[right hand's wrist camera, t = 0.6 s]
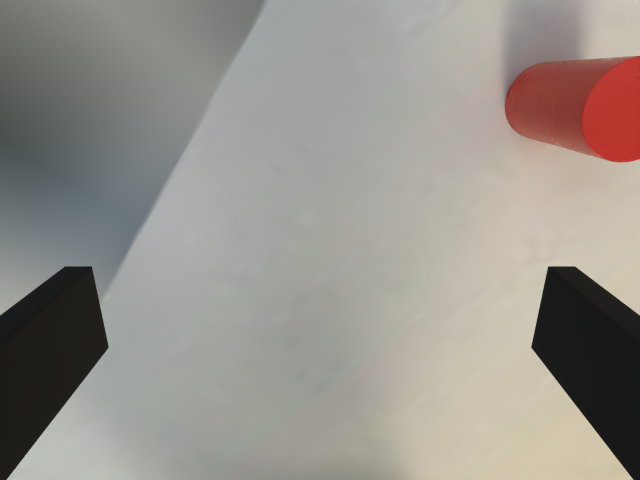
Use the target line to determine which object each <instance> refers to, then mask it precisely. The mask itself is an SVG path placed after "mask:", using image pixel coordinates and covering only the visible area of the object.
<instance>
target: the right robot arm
mask: <svg viewBox="0 0 640 480" xmlns="http://www.w3.org/2000/svg"><path fill="white" fill-rule="evenodd" d="M108 348H109V347H108V342H107V337H106V332H105V328H104V323H103V318H102V313H101V308H100V304H99V299H98V294H97V289H96V285H95V280H94V275H93V270H92V267H64V268H63V269H61V270H60V271H59V272H57V273H56V274H55V275H53V276H52V277H51V278H49V279H48V280H47V281H45V282H44V283H43V284H41V285H40V286H39V287H37V288H36V289H35V290H33V291H32V292H31V293H29V294H28V295H27V296H26V297H24V298H23V299H22V300H20V301H19V302H18V303H16V304H15V305H14V306H12V307H11V308H10V309H8V310H7V311H6V312H4V313H3V314H2V315H0V480H7V478H8V477H9V476H10V474H11V473H12V472H13V471H14V469H15V468H16V467H17V465H18V464H19V463H20V461H21V460H22V459H23V458H24V456H25V455H26V454H27V452H28V451H29V450H30V449H31V447H32V446H33V445H34V443H35V442H36V441H37V439H38V438H39V437H40V436H41V434H42V433H43V432H44V430H45V429H46V428H47V427H48V425H49V424H50V423H51V421H52V420H53V419H54V418H55V416H56V415H57V414H58V412H59V411H60V410H61V408H62V407H63V406H64V405H65V403H66V402H67V401H68V399H69V398H70V397H71V396H72V394H73V393H74V392H75V390H76V389H77V388H78V386H79V385H80V384H81V383H82V381H83V380H84V379H85V377H86V376H87V375H88V374H89V372H90V371H91V370H92V368H93V367H94V366H95V364H96V363H97V362H98V361H99V359H100V358H101V357H102V355H103V354H104V353H105V352H106V350H107V349H108ZM531 348H532V349H533V350H534V352H535V353H536V354H537V355H538V357H539V358H540V359H541V361H542V362H543V363H544V364H545V366H546V367H547V368H548V370H549V371H550V372H551V374H552V375H553V376H554V377H555V379H556V380H557V381H558V383H559V384H560V385H561V386H562V388H563V389H564V390H565V392H566V393H567V394H568V396H569V397H570V398H571V399H572V401H573V402H574V403H575V405H576V406H577V407H578V408H579V410H580V411H581V412H582V414H583V415H584V416H585V418H586V419H587V420H588V421H589V423H590V424H591V425H592V427H593V428H594V429H595V430H596V432H597V433H598V434H599V436H600V437H601V438H602V439H603V441H604V442H605V443H606V445H607V446H608V447H609V449H610V450H611V451H612V452H613V454H614V455H615V456H616V458H617V459H618V460H619V461H620V463H621V464H622V465H623V467H624V468H625V469H626V471H627V472H628V473H629V474H630V476H631V477H632V478H633V480H640V315H638V314H637V313H636V312H634V311H633V310H632V309H630V308H629V307H628V306H626V305H625V304H624V303H622V302H621V301H620V300H619V299H617V298H616V297H615V296H613V295H612V294H611V293H609V292H608V291H607V290H605V289H604V288H603V287H601V286H600V285H599V284H597V283H596V282H595V281H593V280H592V279H591V278H589V277H588V276H587V275H585V274H584V273H583V272H581V271H580V270H579V269H577V268H576V267H548V270H547V275H546V280H545V285H544V289H543V294H542V299H541V304H540V308H539V313H538V318H537V323H536V328H535V332H534V337H533V342H532V347H531Z"/></svg>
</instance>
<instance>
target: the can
mask: <svg viewBox="0 0 640 480" xmlns="http://www.w3.org/2000/svg"><path fill="white" fill-rule="evenodd" d="M505 111H506V116H507V120H508V122H509V124H510V125H511V127H512V128H513V129H514V130H515V131H516V132H517V133H519V134H520V135H522V136H525V137H528V138H531V139H535V140H538V141H542V142H545V143H549V144H552V145H556V146H559V147H563V148H566V149H570V150H573V151H577V152H580V153H584V154H587V155H591V156H594V157H598V158H601V159H605V160H608V161H612V162H629V161H634V160H638V159H640V56H631V57H616V58H602V59H587V60H572V61H558V62H544V63H539V64H536V65H533V66H531V67H529V68H528V69H526V70H525V71H523V72H522V73H521V74H520V75H519V76H518V77H517V78H516V79H515V81H514V82H513V84H512V85H511V87H510V89H509V91H508V94H507V97H506V103H505Z"/></svg>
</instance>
